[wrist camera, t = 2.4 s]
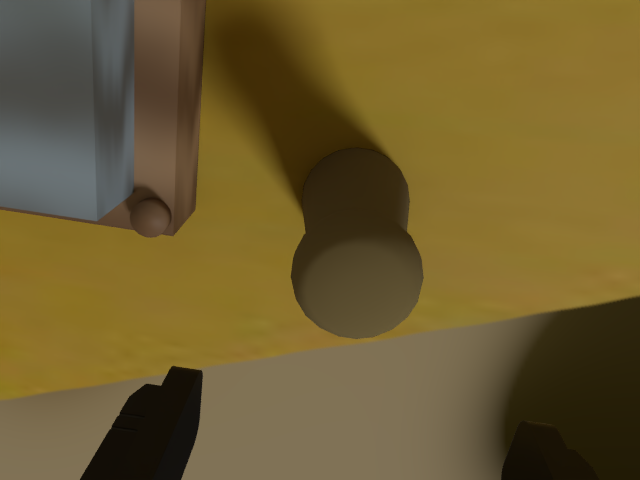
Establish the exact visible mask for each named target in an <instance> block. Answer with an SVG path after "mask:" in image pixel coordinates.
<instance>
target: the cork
mask: <svg viewBox="0 0 640 480" xmlns="http://www.w3.org/2000/svg"><path fill="white" fill-rule="evenodd" d="M409 202H410V201H409V192H408V185H407V182H406V180H405V178H404V176H403V174H402V172H401V170H400V169H399V168H398V167H397V166H396V165H395V164H394V163H393V162H392V161H391V160H390V159H389V158H388V157H386V156H384V155H382V154H380V153H378V152H376V151H374V150H368V149H362V148H350V149H344V150H338V151H336V152H334V153H332V154H331V155H329V156H327V157H325V158H323V159H322V160H321V161H320V162H319V163H318V164H317V165H316V166H315V167H314V168H313V169H312V170H311V172H310V174H309V176H308V178H307V180H306V182H305V184H304V188H303V196H302V206H303V215H304V223H305V231H306V234H304V236H303V238H302V240H301V241H300V243H299V245H298V247H297V249H296V251H295V254H294V257H293V264H292V271H291V279H292V284H293V289H294V293H295V297H296V300H297V302H298V303H299V305H300V307H301V308H302V310H303V312H304V313H305V315H306V316H307V317H308V318H309V319H310V320H312V321H313V322H314V323H315V324H316V325H317V326H319V327H320V328H322V329H324V330H326V331H328V332H330V333H333V334H335V335H337V336H340V337H347V338H353V339H360V338H369V337H375V336H377V335H380V334H382V333H385V332H387V331H390V330H392V329H393V328H395V327H396V326H397V325H398V324H400V323H401V322H402V321H403V320H405V319H406V318H407V317H408V316H409V314H410V313H411V311H412V309H413V308H414V306H415V305H416V303H417V302H418V298H419V294H420V290H421V286H422V282H423V269H422V260H421V256H420V253H419V251H418V249H417V247H416V245H415V243H414V241H413V239H412V237H411V236H410V235H409V234H408V233H407V224H408V213H409Z"/></svg>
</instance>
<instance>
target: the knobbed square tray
mask: <svg viewBox="0 0 640 480" xmlns="http://www.w3.org/2000/svg"><path fill="white" fill-rule="evenodd" d="M205 8H206V0H0V209H1V210H7V211H14V212H20V213H27V214H33V215H40V216H46V217H53V218H59V219H66V220H72V221H79V222H85V223H92V224H98V225H105V226H111V227H118V228H124V229H131V230H135V231H136V232H137V233H139V234H140V235H142V236H145V237H157V236H159V235H161V234H163V235H169V236H174V234H175V233H176V232H177V231H178V230H179V229H180V227H181V226H182V225H183V224H184V223H185V221H186V220H187V219H188V218H189V217H190V216H191V214H192V213H193V212H194V211H195V206H196V186H197V166H198V146H199V127H200V107H201V87H202V67H203V48H204V28H205Z"/></svg>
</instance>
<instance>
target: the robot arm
mask: <svg viewBox="0 0 640 480" xmlns="http://www.w3.org/2000/svg"><path fill="white" fill-rule="evenodd" d="M202 379H203V373H202V370H195V369H189V368H182V367H176V366H172V367H171V368H170V370H169V372H168V374H167V376H166V378H165V379H164V381H163V383H162V385H161V386H158V385H151V384H145V385H144V386H143V387H141V388H140V389H139V390H137V391H136V392H135V393H133V394H132V395H131V396H130V397H129V398H128V400H127V402H126V403H125V405H124V406H123V408H122V410H121V412H120V415H119V416H118V417H117V418H116V420H115V422H114V423H113V425H112V428H111V429H110V430H109V432H108V433H107V435H106V437H105V438H104V440H103V442H102V443H101V445H100V447H99V448H98V450H97V452H96V453H95V455H94V457H93V458H92V460H91V462H90V464H89V465H88V467H87V468H86V470H85V472H84V474H83V475H82V477H81V479H80V480H181V478H182V475H183V473H184V470H185V467H186V464H187V462H188V459H189V457H190V454H191V451H192V449H193V446H194V443H195V440H196V436H197V431H198V427H199V420H200V407H201V406H200V405H201V393H202V392H201V391H202ZM501 480H599V478H598V476H597V474H596V473H595V471H594V469H593V467H592V466H590V464H589V463H588V462H586V460H585V459H584V458H583V457H582V456H581V455H580V454H579V453H578V452H577V451H576V450H572V449H568V448H567V447H566V444H565V443H564V441H563V439H562V437H561V435H560V433H559V431H558V429H557V428H556V427H555V426H554V425H549V424H543V423H536V422H529V421H521V422H520V423H519V425H518V427H517V430H516V432H515V435H514V438H513V440H512V443H511V446H510V448H509V451H508V454H507V456H506V459H505V462H504V465H503V468H502V475H501Z"/></svg>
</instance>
